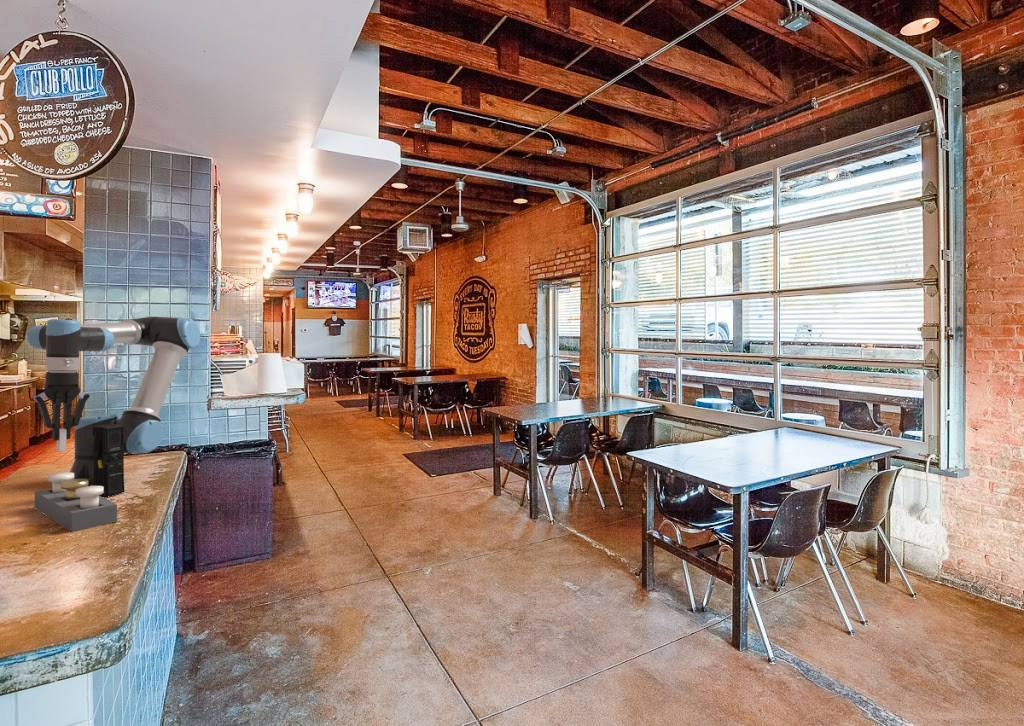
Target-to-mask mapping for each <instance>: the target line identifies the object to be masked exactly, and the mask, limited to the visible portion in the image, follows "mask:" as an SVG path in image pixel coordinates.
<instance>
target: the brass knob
mask: <svg viewBox="0 0 1024 726" xmlns="http://www.w3.org/2000/svg"><path fill="white" fill-rule="evenodd" d="M87 486H88V479H72V480H67V481H63V482H61V489H65V490H66V501H72V500H78V499H80V497H76V489H78V488H82V487H87Z"/></svg>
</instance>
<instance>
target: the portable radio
mask: <svg viewBox="0 0 1024 726" xmlns="http://www.w3.org/2000/svg"><path fill="white" fill-rule="evenodd" d="M93 435H94V454H93V457H94V485H92V486H103V487H104V493H103V494H101V495H99V496H101V497H107V498H109V497H108V496H110V497H113V496H112V495H114V496H116V495H115V494H117V495H119V494H118V493H121V494H123V493H122V492H124V493H125V472H124V471H125V469H124V468H125V465H124V463H125V462H124V461H125V456H124V454H125V453H124V425H123V424H117V422H116V417H115V422H114V424H108V425H101V426H94V427H93Z"/></svg>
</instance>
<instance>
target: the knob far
mask: <svg viewBox="0 0 1024 726" xmlns="http://www.w3.org/2000/svg"><path fill="white" fill-rule="evenodd" d="M103 493H104V487H103V486H93V485H90V486H87V487H82V488H78V489H76V497H80V509H82V510H83V509H88V508H93V507H98V506H99V495H101V494H103Z"/></svg>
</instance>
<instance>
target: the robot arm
mask: <svg viewBox="0 0 1024 726" xmlns="http://www.w3.org/2000/svg"><path fill="white" fill-rule="evenodd" d="M26 337H27V338H26V339H27V342H28V344H29V345H30V346H31V347H32V348H34V349H38V350H45V370H46V371H48V372H46V373H45V382H44V383H45V386H44V389H43V391H42V392H41V393H39V394H38V395H33V396H32V398H33V400H34V401H35V402H36V403H37V407H38V410H39V412H40V416H41V419H42V422H43V425H44V427H45V428H48V429H51V430H52V440H53V441H56V452H61V453H62V452H66V451H67V440H70V439H71V429H72V428H74V430H73V431H74V461H73V464H72V466H71V468H70V471H69V472H71V473H74V479H88V485H90V486H93V485H94V457H93V454H94V435H93V427H94V426H101V425H108V424H114V422H115V417H116V422H117V424H123V425H124V454H132V455H133V454H134V455H137V454H148V453H151V452H152V451H154V450H156V449H157V448H158V447H159V445H161V444H160V443H161V442H162V440H163V438H164V434H165V433H164V425H163V424H162V423H161V421H162V419H161V417H160V415H159V413H160V411H161V408H162V406H163V404H164V401H165V398H166V397H167V396H166V395H167V394H168V391H169V388H170V385H171V383H172V381H173V378H174V376H175V373H176V371H177V368H178V366H179V364H180V360H181V358H183V357H186V356H187V355H188V353H189V350H190V349H192V350H193V349H195V348H197V347H198V346H199V344H200V342H201V331H200V327H199V326H198V324H197V323H196V322H195V320H193V319H191V318H190V317H189V318H188V317H181V316H180V317H172V316H146V317H137V318H130V319H128V318H127V319H123V320H121V321H119V322H118V321H117V322H101V323H99V322H98V323H81V324H80V321H79V320H77V319H76V320H75V319H58V318H57V319H56V318H52V319H51V318H50V319H49V320H48V321H47V322H46V324H41V325H40V324H39V325H34V326H31V327H30V329H28V331H27V334H26ZM115 344H125V345H128V346H132V345H139V346H141V345H142V346H147V347H152V348H153V349H154V353H153V354H152V357H151V360H150V362H149V364H148V366H147V369H146V371H145V373H144V375H143V378H142V381H141V383H140V385H139V388H138V390H137V393H136V394H135V396H134V400H133V402H132V404H131V407H130V408H128V409H125V410H123V412H122V414H121V417H120V418H118V414H117V413H106V414H105V413H104V414H99V415H98V414H97V415H90V416H83V417H82V414H83V411H84V408H85V405H86V403H87V401H88V399H89V398H90V394H89V393H85V392H83V391H82V390H81V388H80V385H79V383H80V373H79V372H78V371H79V370H80V352H98V353H99V352H105V351H108V350H110V349H111V348H112V347H113V345H115ZM46 398H47V399H49V401H50V402H51V405H52V407H51V408H52V409H51V410H52V411H51V413H52V414H51V415H52V416H50V413H49V411H48V407H47V403H46V400H47V399H46ZM76 398H77V402H76V404H75V407H74V410H73V411H74V412H73V415H72V406H73V402H74V400H75V399H76ZM62 406H63V413H62V414H63V416H62V417H63V418H62V419H63V420H62V422H63V423H62V426H63V427H61V407H62ZM51 418H52V419H51Z"/></svg>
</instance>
